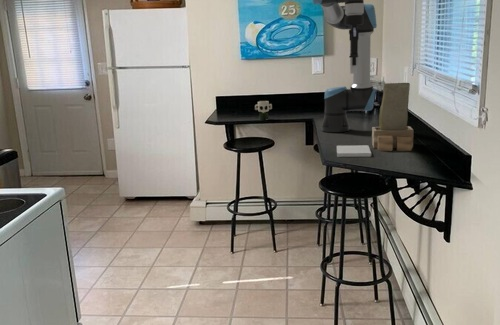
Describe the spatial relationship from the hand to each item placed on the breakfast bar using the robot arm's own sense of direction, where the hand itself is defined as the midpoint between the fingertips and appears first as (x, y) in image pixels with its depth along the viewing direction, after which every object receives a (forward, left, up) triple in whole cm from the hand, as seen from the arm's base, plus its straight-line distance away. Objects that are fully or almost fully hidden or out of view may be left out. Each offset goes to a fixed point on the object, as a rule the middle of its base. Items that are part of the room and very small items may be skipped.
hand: (353, 73), depth 199 cm
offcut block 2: (-6, +22, -34) cm, 41 cm away
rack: (-14, +18, -34) cm, 41 cm away
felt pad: (0, 0, -34) cm, 34 cm away
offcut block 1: (-6, +14, -34) cm, 38 cm away
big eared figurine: (-94, -52, -34) cm, 113 cm away
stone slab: (-14, +18, -34) cm, 41 cm away
